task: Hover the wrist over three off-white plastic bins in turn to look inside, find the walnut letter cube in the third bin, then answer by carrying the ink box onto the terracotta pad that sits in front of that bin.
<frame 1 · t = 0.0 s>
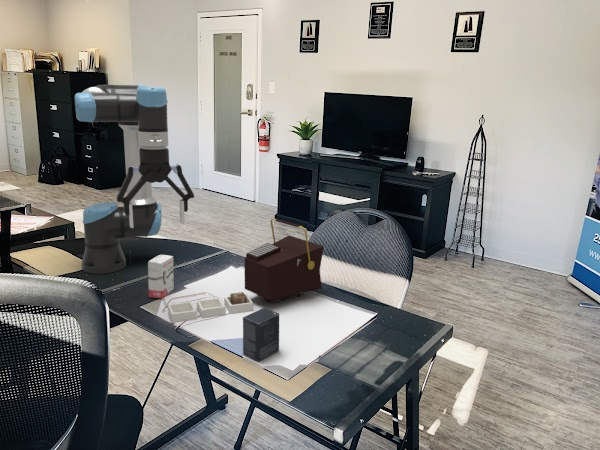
hand: (157, 224, 138), 28 cm above the table, fingers open, 13 cm apart
bins: (211, 312, 149), on the table
box: (261, 353, 128), on the table
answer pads: (202, 297, 160), on the table
letter cube: (238, 307, 152), resting on bins
brown boxy machine: (282, 297, 162), on the table
ink box: (162, 294, 161), on the table, touching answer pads
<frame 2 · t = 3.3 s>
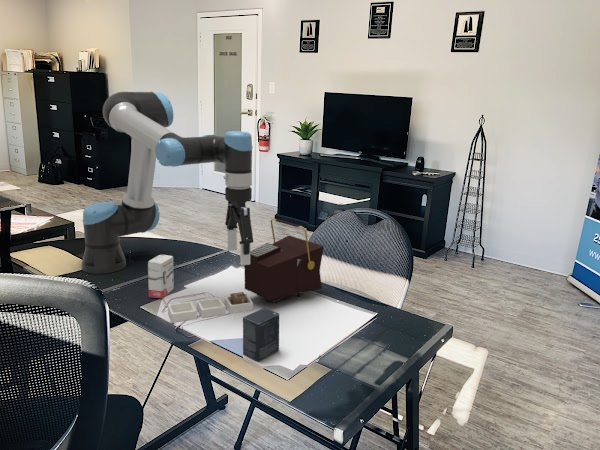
hand: (238, 257, 148), 17 cm above the table, fingers open, 13 cm apart
nothing on the table moved.
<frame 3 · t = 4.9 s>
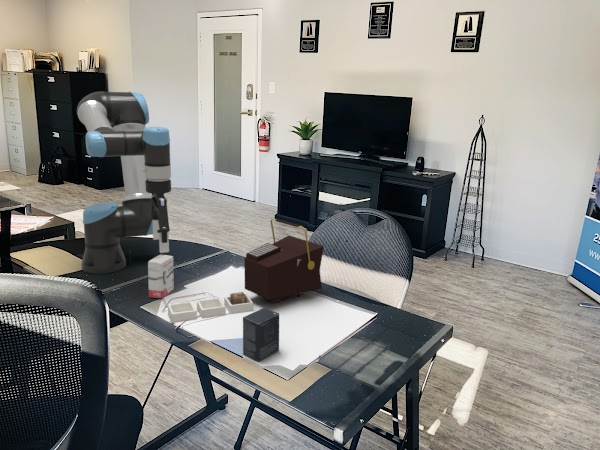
hand: (160, 245, 157), 16 cm above the table, fingers open, 13 cm apart
nothing on the table moved.
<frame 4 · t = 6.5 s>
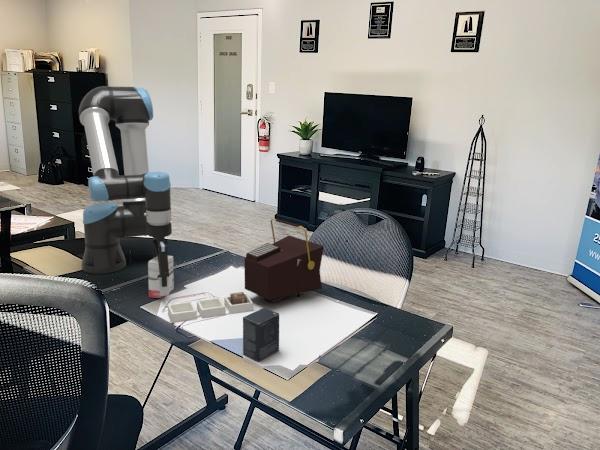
hand: (161, 289, 161), 2 cm above the table, fingers closed on ink box, 10 cm apart
ink box: (162, 294, 161), on the table, touching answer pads, gripper
everything else where it was.
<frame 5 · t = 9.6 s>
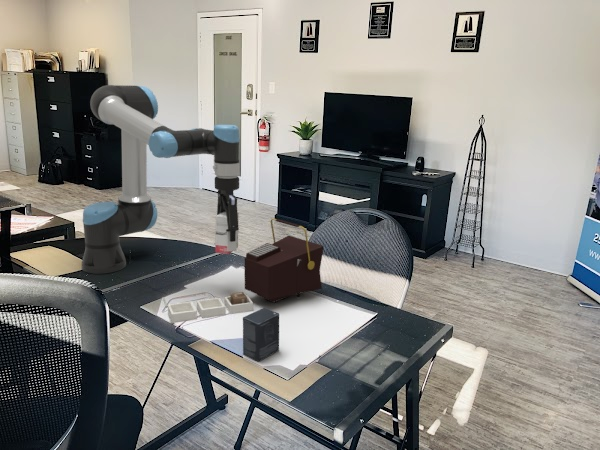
hand: (227, 245, 158), 17 cm above the table, fingers closed on ink box, 9 cm apart
ink box: (227, 250, 159), point 15 cm above the table, touching gripper
everything else where it was.
when the fingers open (3 cm above the table, at t = 12.5 s): ink box drops 2 cm, resting on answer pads.
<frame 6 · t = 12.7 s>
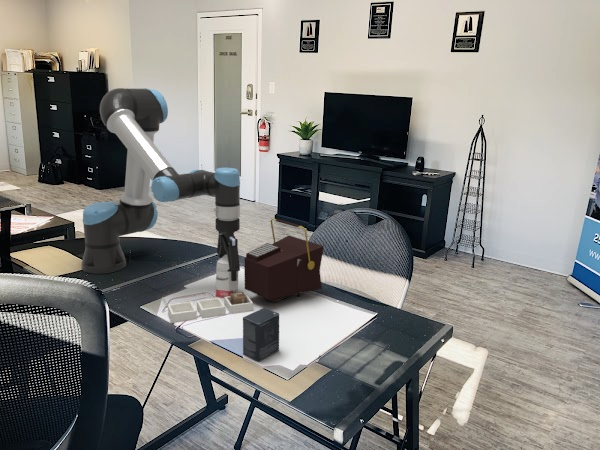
hand: (228, 283, 162), 4 cm above the table, fingers open, 11 cm apart
ink box: (227, 293, 163), resting on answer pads
everything else where it was.
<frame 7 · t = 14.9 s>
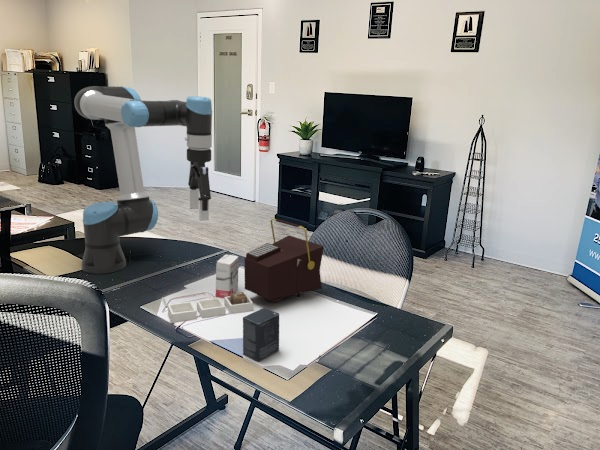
hand: (199, 214, 160), 25 cm above the table, fingers open, 13 cm apart
nothing on the table moved.
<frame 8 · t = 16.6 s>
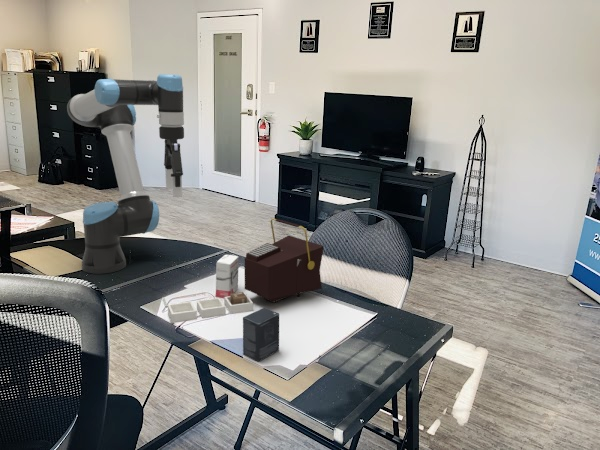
hand: (173, 192, 161), 32 cm above the table, fingers open, 13 cm apart
nothing on the table moved.
at the end: ink box inside the target area (0.2 cm from its centre), resting on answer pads; ink box tilted 0°; the gripper is holding nothing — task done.
